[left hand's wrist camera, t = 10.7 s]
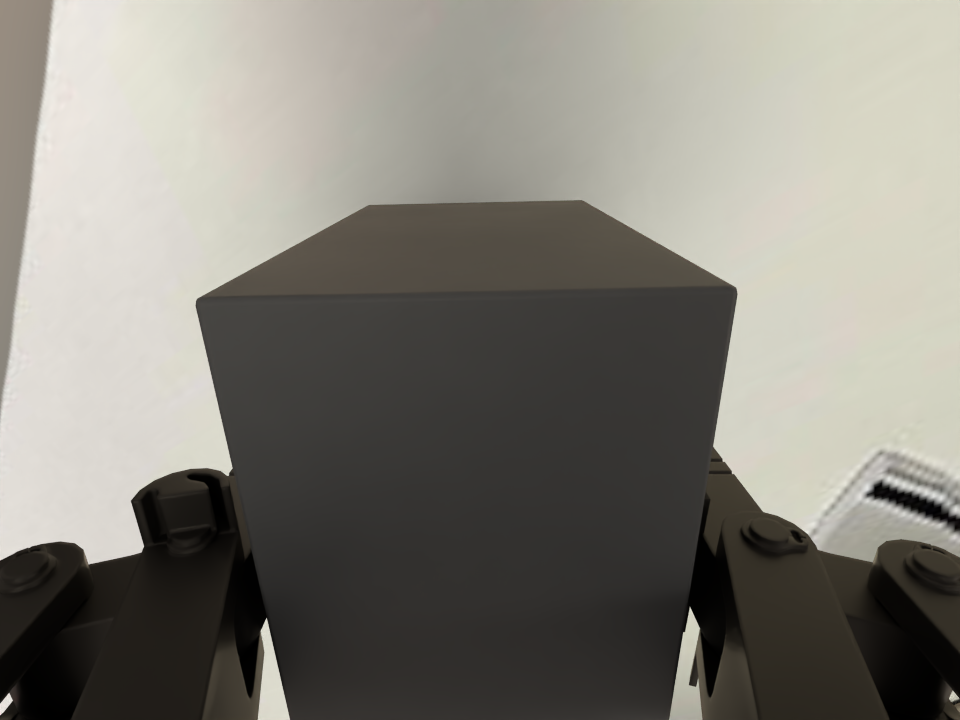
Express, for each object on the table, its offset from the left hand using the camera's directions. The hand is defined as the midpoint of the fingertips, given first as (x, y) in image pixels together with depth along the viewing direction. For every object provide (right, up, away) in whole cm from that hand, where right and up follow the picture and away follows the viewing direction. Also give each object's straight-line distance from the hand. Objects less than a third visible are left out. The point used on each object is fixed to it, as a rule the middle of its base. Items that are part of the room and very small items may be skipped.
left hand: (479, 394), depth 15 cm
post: (0, -21, +9) cm, 23 cm away
